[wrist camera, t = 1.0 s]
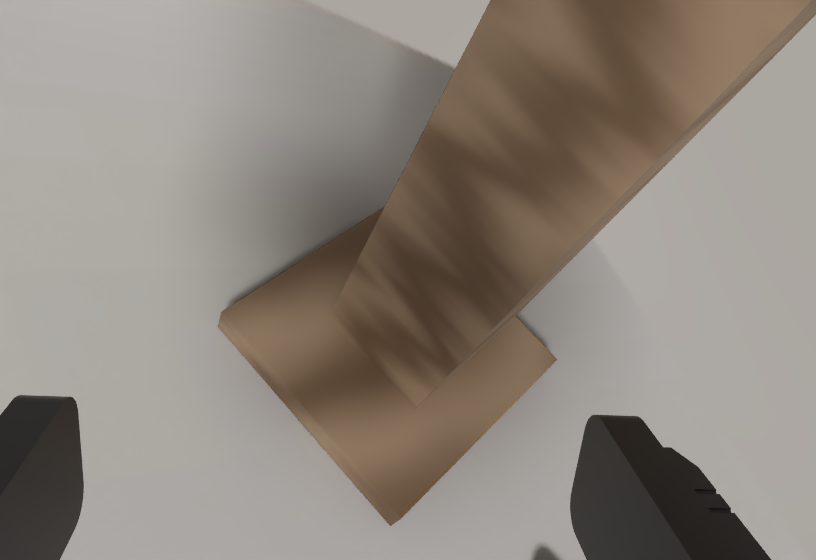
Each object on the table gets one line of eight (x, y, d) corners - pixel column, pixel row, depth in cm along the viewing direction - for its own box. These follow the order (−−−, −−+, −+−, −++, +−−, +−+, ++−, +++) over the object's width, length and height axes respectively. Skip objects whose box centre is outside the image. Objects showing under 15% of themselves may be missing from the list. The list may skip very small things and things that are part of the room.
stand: (217, 326, 33) (458, -712, 9) (392, 211, 40) (806, -563, 15) (390, 525, 31) (1314, -101, 7) (543, 370, 38) (1290, -230, 14)
